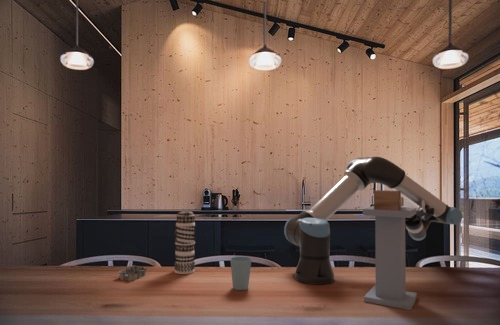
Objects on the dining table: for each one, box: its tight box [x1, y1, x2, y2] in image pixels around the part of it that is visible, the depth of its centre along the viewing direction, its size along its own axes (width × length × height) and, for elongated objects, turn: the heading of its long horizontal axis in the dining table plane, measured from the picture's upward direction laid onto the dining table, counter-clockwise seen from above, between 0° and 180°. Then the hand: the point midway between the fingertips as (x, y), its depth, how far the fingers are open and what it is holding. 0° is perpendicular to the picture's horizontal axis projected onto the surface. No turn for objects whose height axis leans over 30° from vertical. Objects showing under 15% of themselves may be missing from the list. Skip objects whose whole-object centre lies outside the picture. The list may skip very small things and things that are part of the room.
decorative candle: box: [173, 210, 197, 275], centre depth 151 cm, size 9×9×25 cm
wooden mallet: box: [373, 189, 405, 211], centre depth 123 cm, size 26×7×6 cm, turn 149°
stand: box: [362, 205, 418, 311], centre depth 119 cm, size 14×17×30 cm
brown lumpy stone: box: [118, 264, 148, 282], centre depth 141 cm, size 11×8×4 cm
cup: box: [230, 256, 252, 291], centre depth 128 cm, size 8×8×10 cm
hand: (404, 202), depth 149 cm, fingers open, 13 cm apart
